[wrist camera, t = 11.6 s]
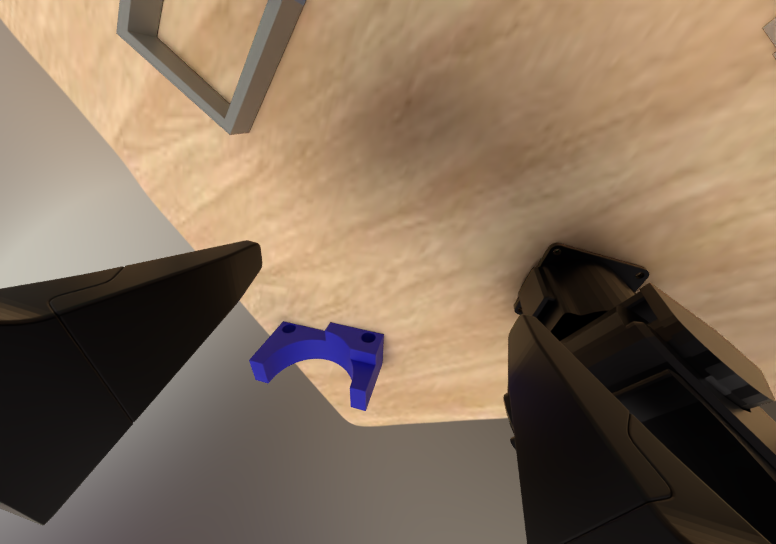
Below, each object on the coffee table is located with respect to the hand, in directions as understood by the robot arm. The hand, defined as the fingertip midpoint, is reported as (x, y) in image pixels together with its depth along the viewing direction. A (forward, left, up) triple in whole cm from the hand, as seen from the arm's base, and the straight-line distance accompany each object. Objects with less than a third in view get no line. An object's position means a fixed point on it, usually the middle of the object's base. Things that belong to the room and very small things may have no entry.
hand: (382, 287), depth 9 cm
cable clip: (+6, +19, -13) cm, 24 cm away
